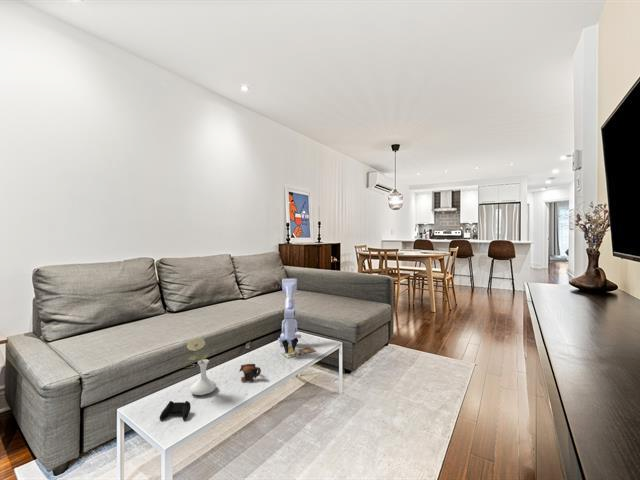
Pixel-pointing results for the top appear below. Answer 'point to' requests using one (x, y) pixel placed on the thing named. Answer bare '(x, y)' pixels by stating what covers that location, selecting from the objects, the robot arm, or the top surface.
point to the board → (298, 352)
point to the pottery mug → (249, 372)
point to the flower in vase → (203, 383)
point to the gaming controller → (176, 409)
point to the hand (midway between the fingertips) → (289, 351)
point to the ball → (290, 349)
